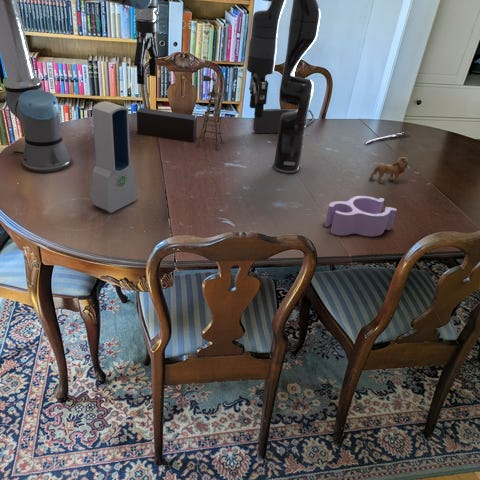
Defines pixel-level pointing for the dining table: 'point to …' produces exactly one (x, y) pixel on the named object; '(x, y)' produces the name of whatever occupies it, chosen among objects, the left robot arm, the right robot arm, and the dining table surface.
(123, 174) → the electronic device
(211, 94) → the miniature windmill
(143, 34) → the left robot arm
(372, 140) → the sword
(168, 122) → the bar
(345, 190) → the dining table surface
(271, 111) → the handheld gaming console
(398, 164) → the lion figurine
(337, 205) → the clip
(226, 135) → the dining table surface
